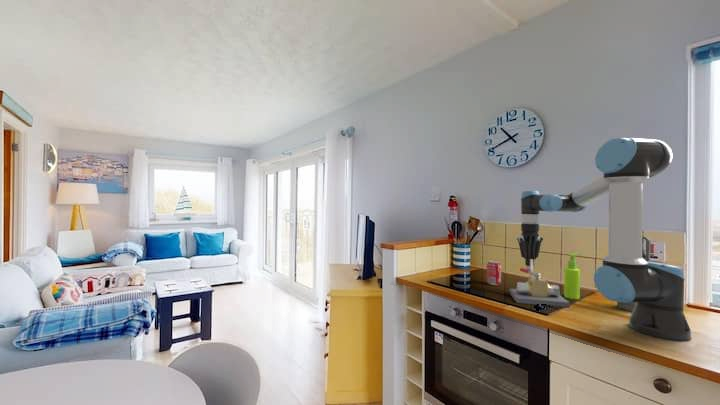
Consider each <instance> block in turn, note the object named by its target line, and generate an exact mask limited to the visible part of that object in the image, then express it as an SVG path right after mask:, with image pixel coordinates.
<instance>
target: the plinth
mask: <svg viewBox="0 0 720 405" xmlns="http://www.w3.org/2000/svg"><path fill="white" fill-rule="evenodd" d="M509 294H510V295H511V297H512V298H513V299H514V301H515V302H516V303H517V304H526V305H527V304H528V305H537V304H547V305H546V306H548V305H550V306H551V307H561V308H570V306H571V304H570V303H571V302H569V300H567V299H566V298H565V297H563V295H561V294H560V295H559V297H553V296H550V297H547V298H546V297H534V296H529V295H527V294H518V293H517V288H509Z"/></svg>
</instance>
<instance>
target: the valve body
mask: <svg viewBox="0 0 720 405" xmlns="http://www.w3.org/2000/svg"><path fill="white" fill-rule="evenodd" d="M516 289H517V293H518V294H527V295H529V296H534V297H546V298H547V297H550V296H553V297H559V295H561V293H560V287H559V285H558V284H549V282H548V281H547V280H546V279H545V278H543V277H540V278H539V277H528V281H527V280H526V282H521V281H519V282H516Z"/></svg>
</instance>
